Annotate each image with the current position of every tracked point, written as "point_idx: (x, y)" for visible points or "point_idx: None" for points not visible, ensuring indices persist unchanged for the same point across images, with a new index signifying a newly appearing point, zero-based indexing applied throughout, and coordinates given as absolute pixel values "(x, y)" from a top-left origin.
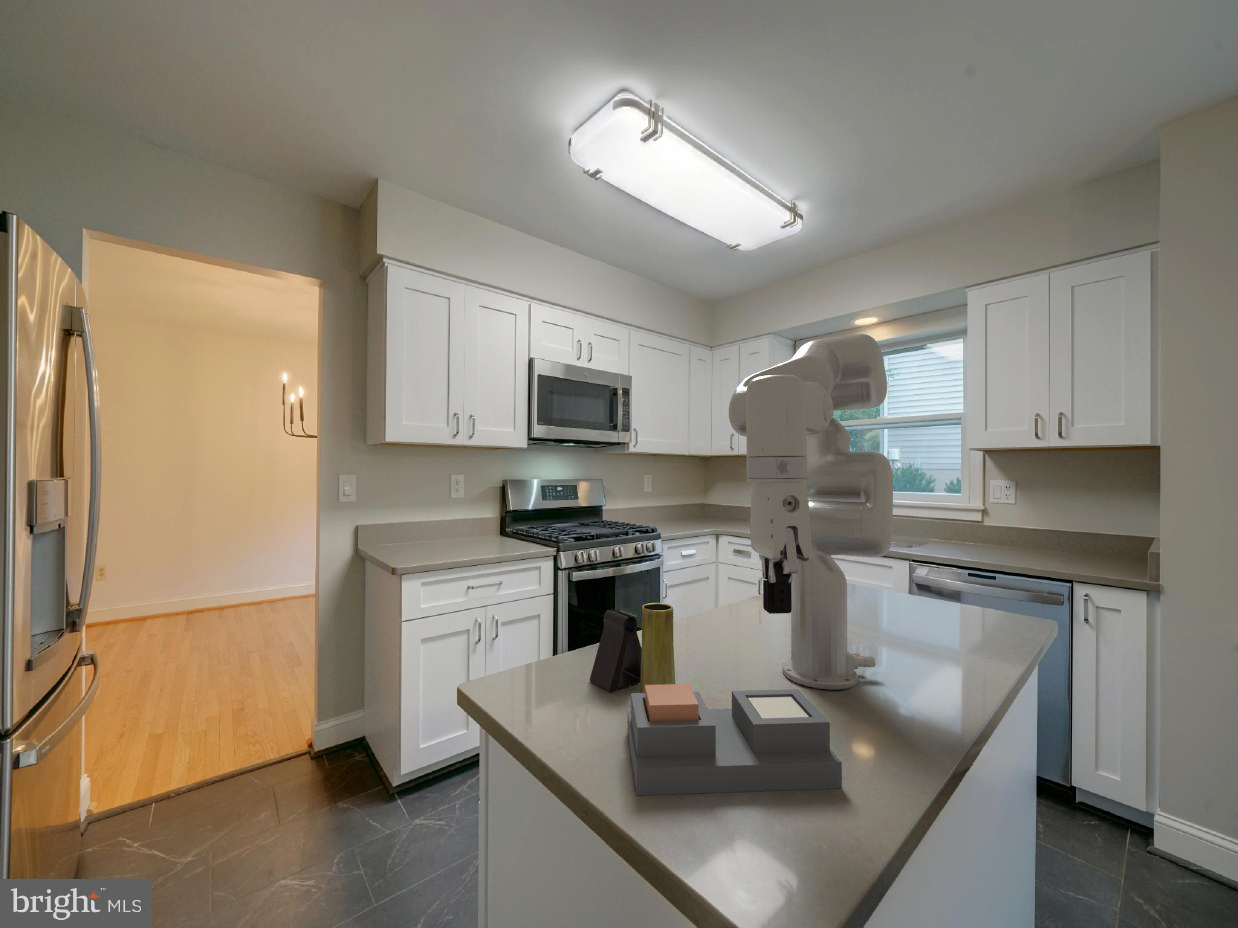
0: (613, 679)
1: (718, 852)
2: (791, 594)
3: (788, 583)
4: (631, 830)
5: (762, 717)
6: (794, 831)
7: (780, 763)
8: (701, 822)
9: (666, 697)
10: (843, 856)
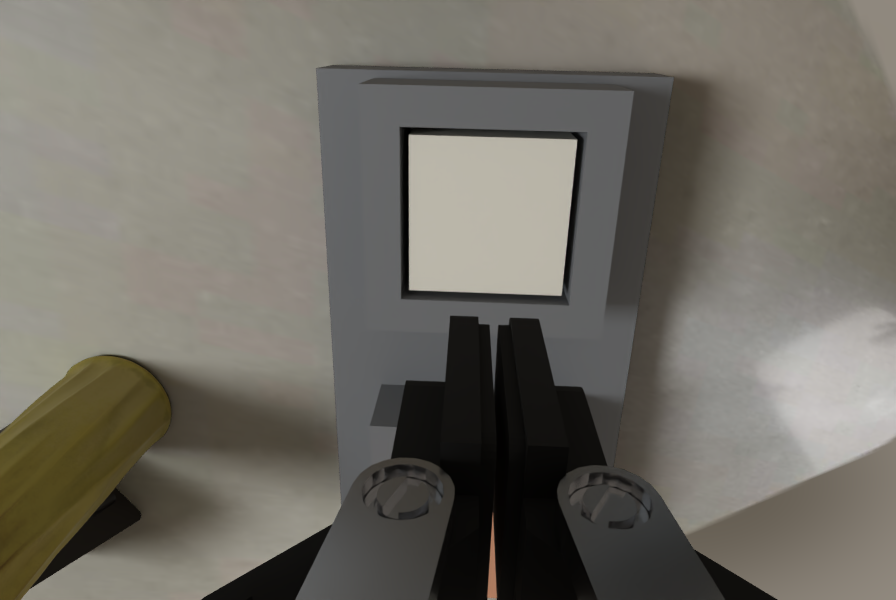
0: (114, 530)
1: (777, 413)
2: (550, 378)
3: (560, 462)
4: (684, 528)
5: (550, 292)
6: (767, 261)
7: (642, 253)
8: (694, 421)
9: (494, 558)
10: (862, 196)
